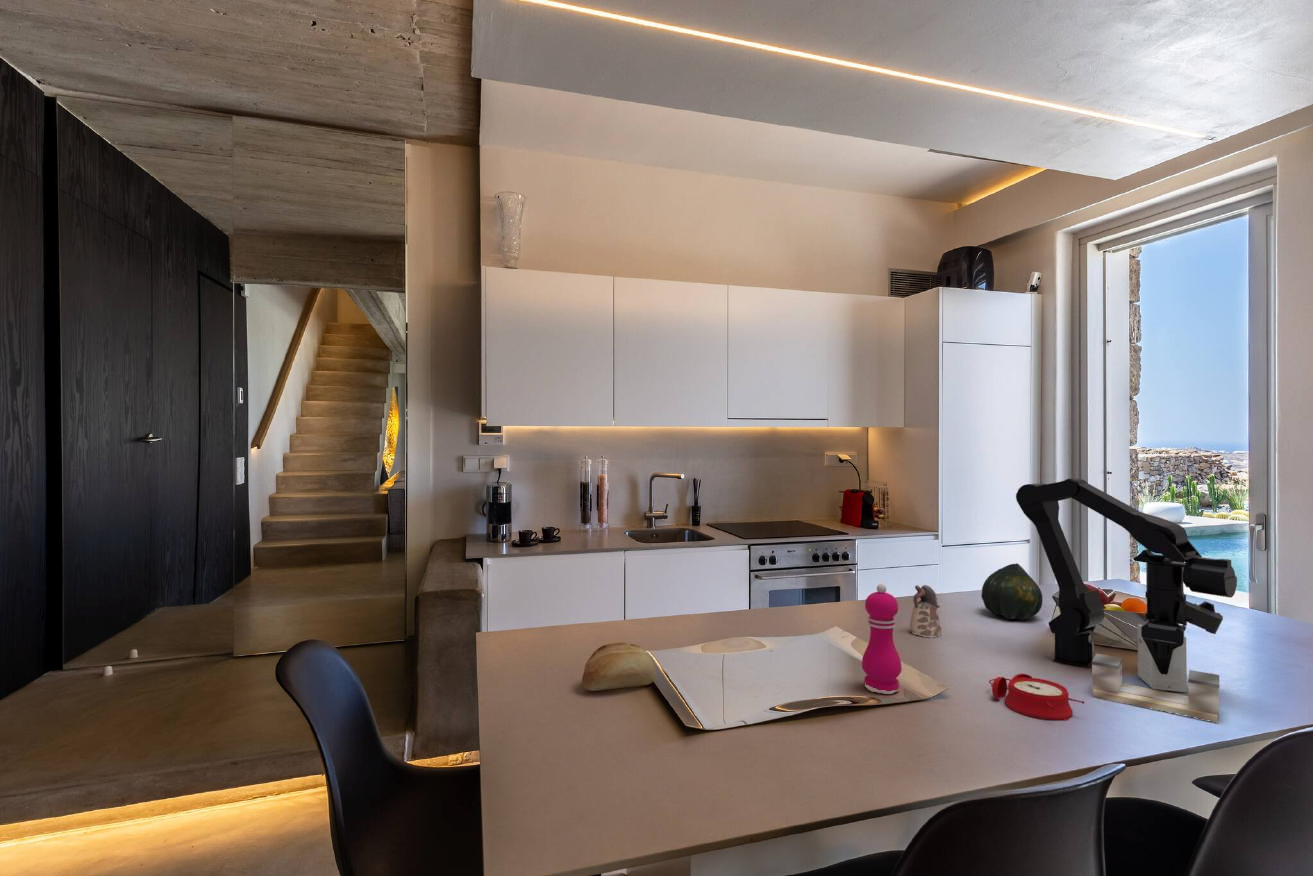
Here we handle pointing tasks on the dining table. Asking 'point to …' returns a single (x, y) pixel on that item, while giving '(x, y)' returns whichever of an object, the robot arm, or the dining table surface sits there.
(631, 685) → the bread roll
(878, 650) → the pepper mill
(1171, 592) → the robot arm
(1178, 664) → the small box
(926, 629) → the figurine
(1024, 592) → the squash
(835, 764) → the dining table surface
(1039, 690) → the alarm clock
